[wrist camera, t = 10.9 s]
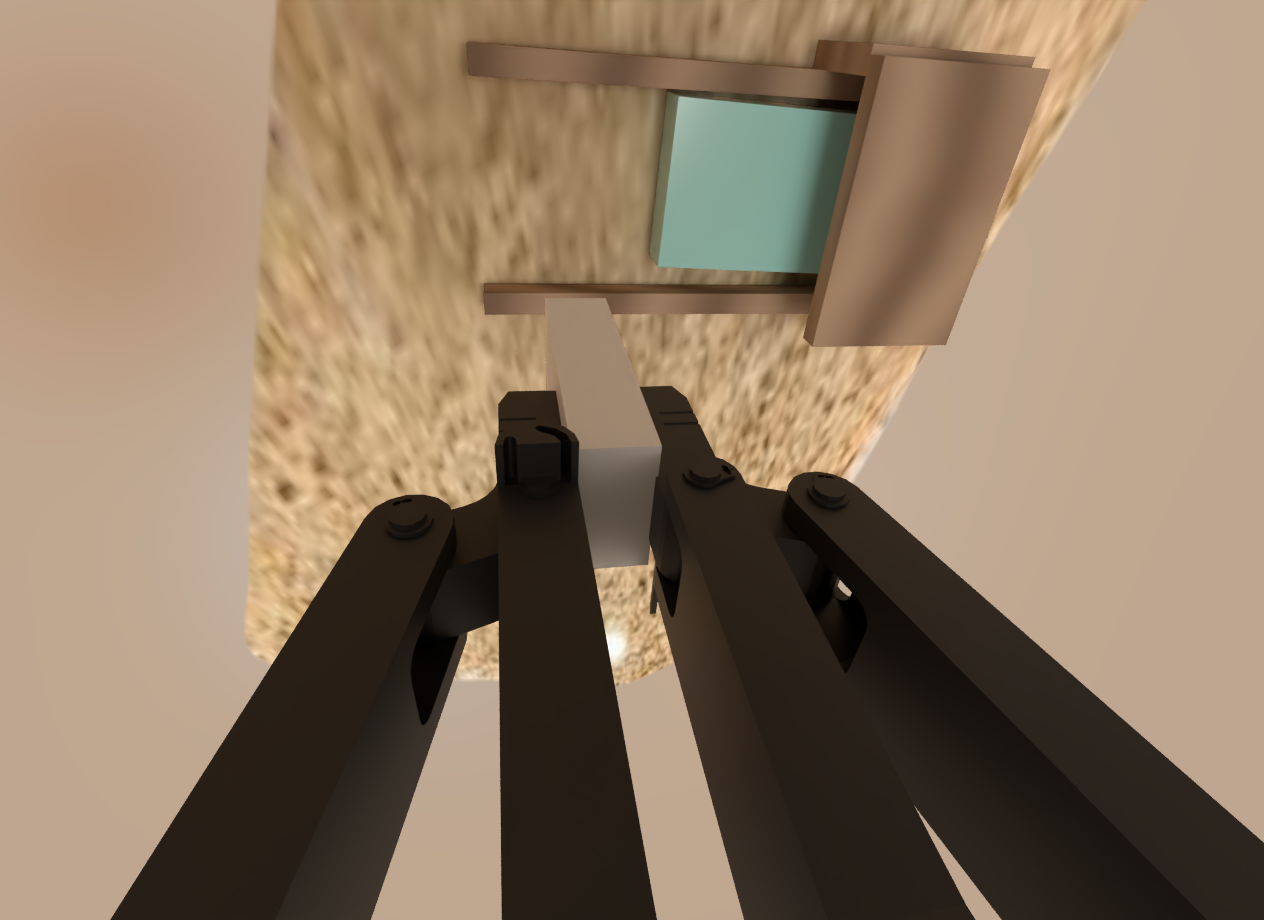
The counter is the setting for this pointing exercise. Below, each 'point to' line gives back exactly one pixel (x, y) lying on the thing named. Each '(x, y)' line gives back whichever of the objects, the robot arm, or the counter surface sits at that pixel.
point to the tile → (747, 183)
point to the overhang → (869, 189)
